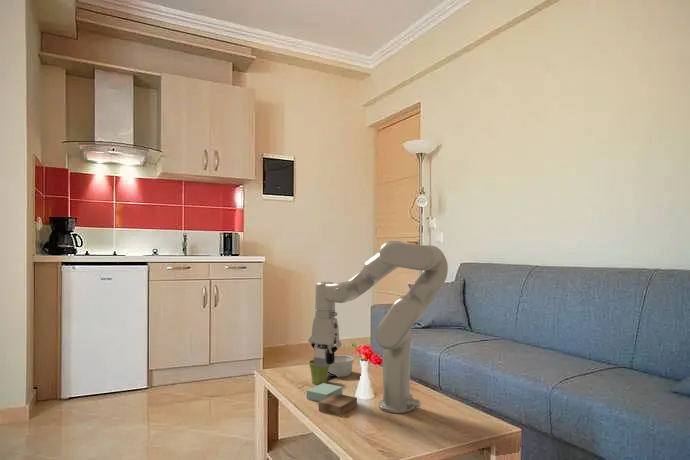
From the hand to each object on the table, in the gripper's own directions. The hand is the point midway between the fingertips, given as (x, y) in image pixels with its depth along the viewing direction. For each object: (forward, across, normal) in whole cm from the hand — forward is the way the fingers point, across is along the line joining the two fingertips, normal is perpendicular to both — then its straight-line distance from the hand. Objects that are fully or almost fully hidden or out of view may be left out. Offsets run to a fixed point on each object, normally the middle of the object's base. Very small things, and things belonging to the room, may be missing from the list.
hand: (324, 361), depth 175 cm
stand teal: (+13, 0, 0) cm, 13 cm away
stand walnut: (+13, -11, +8) cm, 19 cm away
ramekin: (+14, +12, -29) cm, 34 cm away
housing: (+1, 0, 0) cm, 1 cm away
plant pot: (+13, +12, -14) cm, 23 cm away
